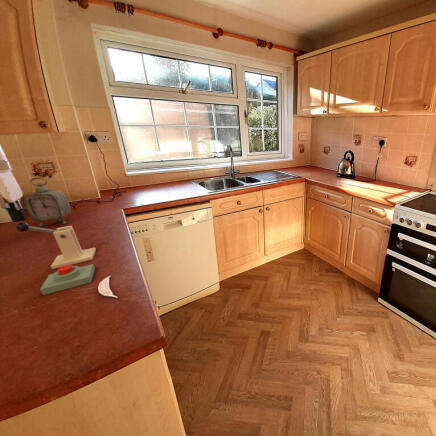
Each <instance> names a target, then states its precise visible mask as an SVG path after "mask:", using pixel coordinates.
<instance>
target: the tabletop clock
mask: <svg viewBox="0 0 436 436" xmlns="http://www.w3.org/2000/svg"><path fill="white" fill-rule="evenodd" d="M34 180H42V181H45V183H43V184H42V183H41V182H38V183H37V184H34V183H33V181H34ZM29 183H30V184H31V185H32V186H34V187H36V188H35V192H33V193H30V194H27V195H24V196H22V202H23V205H24V208H25V210H26V212H27V213H28V215H29V217H30V218H31V219H32V220H33V221H34V222H35V221H36V222H41V223H39V228H44V223H45V222H51V221H56V222H57V223H61V222H62V224H63V225H67V224H68V221H65V219H64V218H65V217H66V216H68V215H69V214H71V210H72V209H71V205H70V202H69V200H68V198H67V196H66V194H65V193H64V191H63V190H59V189H50V188H48V187H47V186H46V185H47V184H48V181H47V179H45V178H43V177H33V178H31V179H30V181H29Z"/></svg>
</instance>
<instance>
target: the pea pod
mask: <svg viewBox="0 0 436 436" xmlns="http://www.w3.org/2000/svg"><path fill="white" fill-rule="evenodd" d="M111 277H112V275H109V276H107V277H105V278H104V279H102V280H101V281H100V282H99V284H98V286H97V289H98V293H99V294H101V295H102V296H104V297H113V298H116V299H118V298H119V297H118V296H116V295H114V293H113V291H112V290H111V288H110V278H111Z"/></svg>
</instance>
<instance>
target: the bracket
mask: <svg viewBox="0 0 436 436" xmlns="http://www.w3.org/2000/svg"><path fill="white" fill-rule="evenodd" d="M61 229H65V230H62V231H60V230H61ZM55 230H57V232H53V233H52V234H53V236H54V238H55V241H56V244H57V245H58V247H59V251H60V252H61V254H58V255H57V256H56V257H55V259H54V260H53V262H52V263H51V265H50V268H51V270H55V269H59V268H60V267H62V266H65V265H76V264H80V263H84V262H88V261H91V260H93V259H94V257H95V254H96V251H97V249H96V247H90V248H86V249H82V247H81V244H80V242H79V239H78V237H77V234H76V233H75V230H74V227H73V226H72V225H67V226H62V227H57V228H56V229H55ZM70 230H71V232H70Z"/></svg>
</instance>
